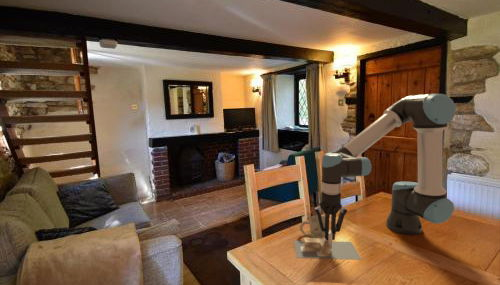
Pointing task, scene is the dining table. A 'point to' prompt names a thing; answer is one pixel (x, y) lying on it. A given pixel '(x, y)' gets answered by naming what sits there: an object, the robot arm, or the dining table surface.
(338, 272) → the dining table surface
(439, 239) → the dining table surface
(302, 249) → the board
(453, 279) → the dining table surface
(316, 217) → the mug
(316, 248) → the t block
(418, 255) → the dining table surface
